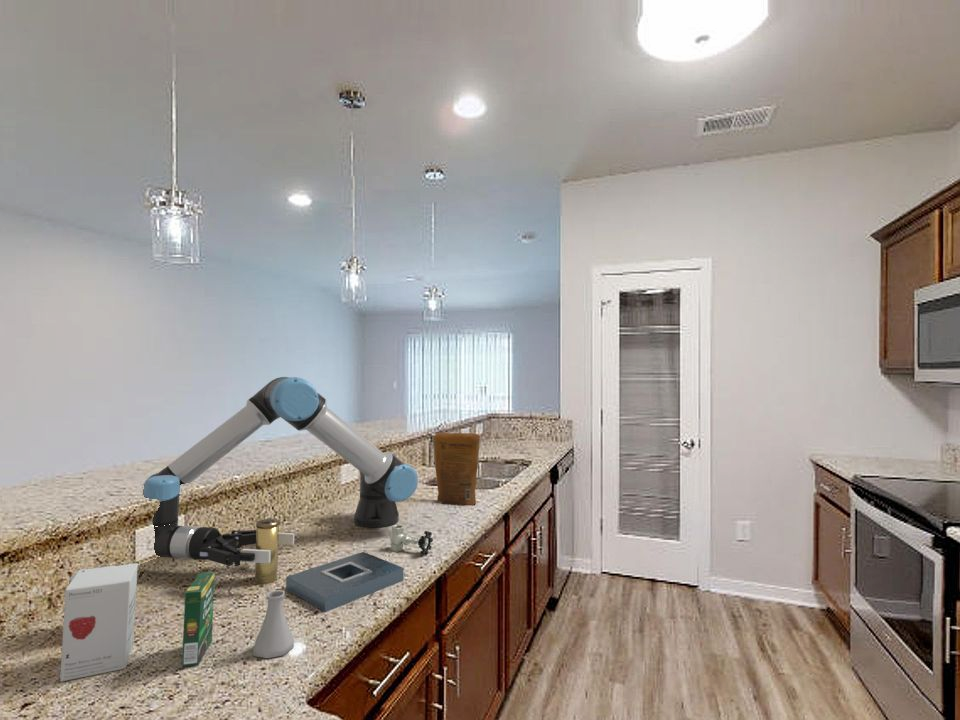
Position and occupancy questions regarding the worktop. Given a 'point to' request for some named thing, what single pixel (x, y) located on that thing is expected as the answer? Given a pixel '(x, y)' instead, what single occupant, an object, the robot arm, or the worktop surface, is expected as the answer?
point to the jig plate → (343, 580)
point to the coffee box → (198, 619)
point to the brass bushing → (267, 541)
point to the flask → (274, 629)
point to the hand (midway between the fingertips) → (282, 547)
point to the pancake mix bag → (456, 467)
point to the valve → (409, 540)
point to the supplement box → (98, 621)
